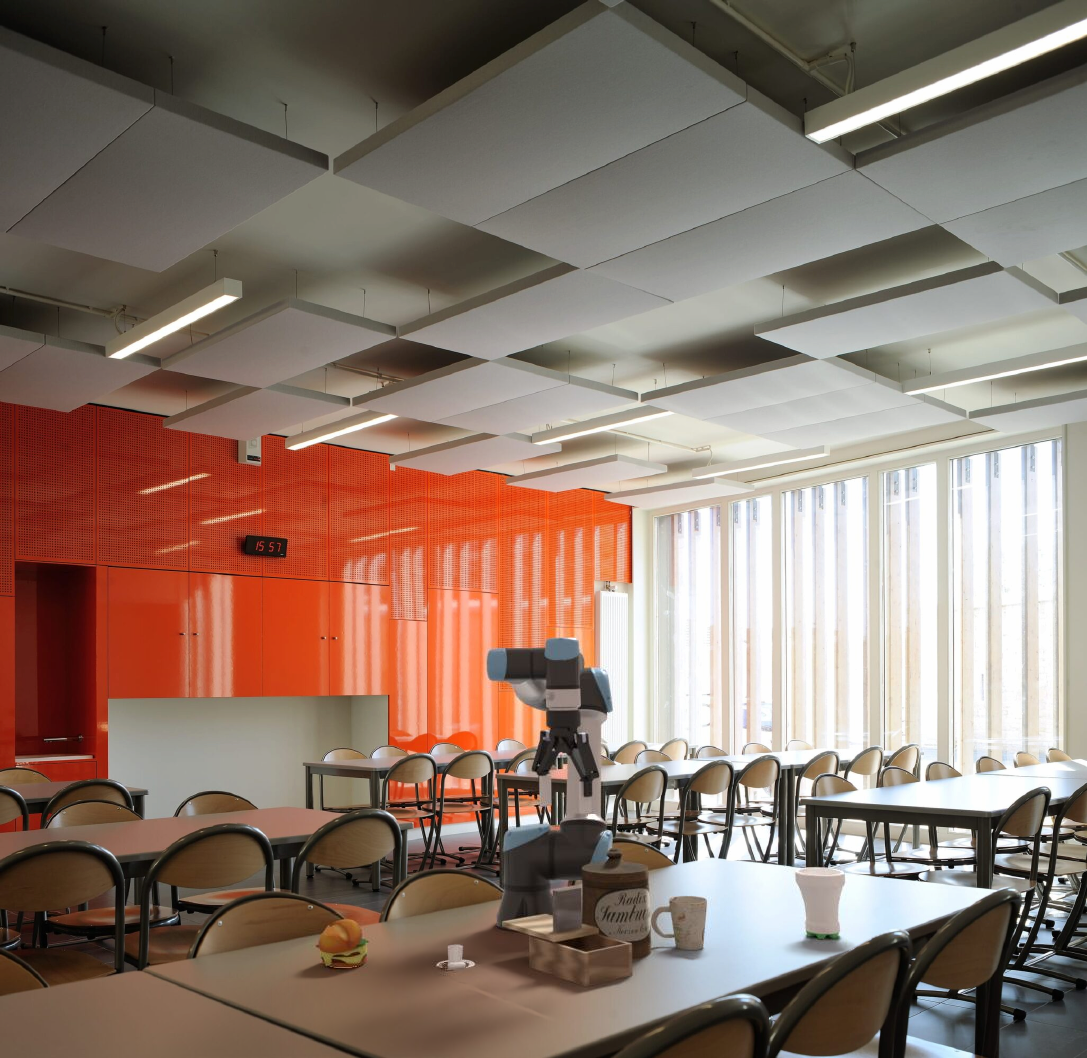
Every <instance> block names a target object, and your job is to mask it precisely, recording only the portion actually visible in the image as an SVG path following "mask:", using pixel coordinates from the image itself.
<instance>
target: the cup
mask: <svg viewBox="0 0 1087 1058" xmlns="http://www.w3.org/2000/svg"><path fill="white" fill-rule="evenodd" d="M794 875H795V876H794V877H795V883H796V885H797V887H798V888H799V891H800V893H801V896H802V900H803V903H804V909H805V921H804V923H805V932H806V935H807V937H809V938H814V937H817V938H818V939H819V940H824V939H826V937H827V936H828V938H830V939H833V940H834V939H835V940H836V939H837V938H838V935H839V934H840V932H841V925H840V921H839V904H840V899H841V894H842V892H843V887H844V886H845V884H846V873H845V872H844V871H843V870H842V869H836V868H829V867H819V866H818V867H817V866H816V867H801V868H797V869H796V870H794Z"/></svg>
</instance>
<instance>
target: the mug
mask: <svg viewBox="0 0 1087 1058" xmlns="http://www.w3.org/2000/svg"><path fill="white" fill-rule="evenodd" d="M668 901H669V902H668V903H669V905H664V906H662V905H661V906H658V907H657V908H656V909H655V910H654V911H653V913H652V914H651V916H650V918H651V927H652V930H653V931H654V933H656V934H657V935H658V936H660V937H661V938H663V939H674V943H675V948H677V949H679V950H684V951H697V950H701V949H703V948H704V945H705V944H704V943H705V942H704V941H705V933H706V931H705V930H706V922H707V921H706V918H707V908H708V900H707V899H706V898H705V897H701V896H694V895H693V896H692V895H680V896H679V895H678V896H673V897H670V898H669V899H668ZM662 913H670V917H671V923H672V929H673V933H664V932H663V931H661V929H660V928H659V926H658V923H657V920H658V917H659V915H660V914H662Z"/></svg>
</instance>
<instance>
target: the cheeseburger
mask: <svg viewBox="0 0 1087 1058" xmlns="http://www.w3.org/2000/svg"><path fill="white" fill-rule="evenodd" d="M368 943H369V940H367V939H366V938H363V930H362V928H361V927H360V925H359V923H357V922H356V921H355V920H353V919H349V918H347V919H345V918H344V919H340V920H336V921H334V922H332V923H330V924H328V925H327V926H326V928H325V929H324V931H323V932H322V933H321V935H320V936H319V939H318V944H316V945H315V947H316V948H318V949H319V957H320V959H321V961H322V965H323V964H325V965H327V966H332V967H353V966H354V967H355V966H358V967H360V966H362V965H364V964H365V962H366V961H367V958H368V953H367V952H368V947H367V945H368ZM325 965H324V966H325ZM359 965H360V966H359ZM327 966H326V967H327ZM355 968H356V967H355Z"/></svg>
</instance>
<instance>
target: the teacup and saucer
mask: <svg viewBox="0 0 1087 1058" xmlns="http://www.w3.org/2000/svg"><path fill="white" fill-rule="evenodd" d="M463 950H464V946H463V945H461V944H450V945H447V956H448V958H447V960H442V961H439V962H437V964H436V967H437V966H439V964H440V963H444V962H448V963H447V968H449V969H447V970H446V971H456V970H462V969H467V968H471V967H474V966H475V964H476V963H475V962H474V961H472V960H469V959H463ZM466 963H467V964H468V965H467V966H468V967H467V966H466ZM444 964H445V963H444ZM465 967H466V968H465Z"/></svg>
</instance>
